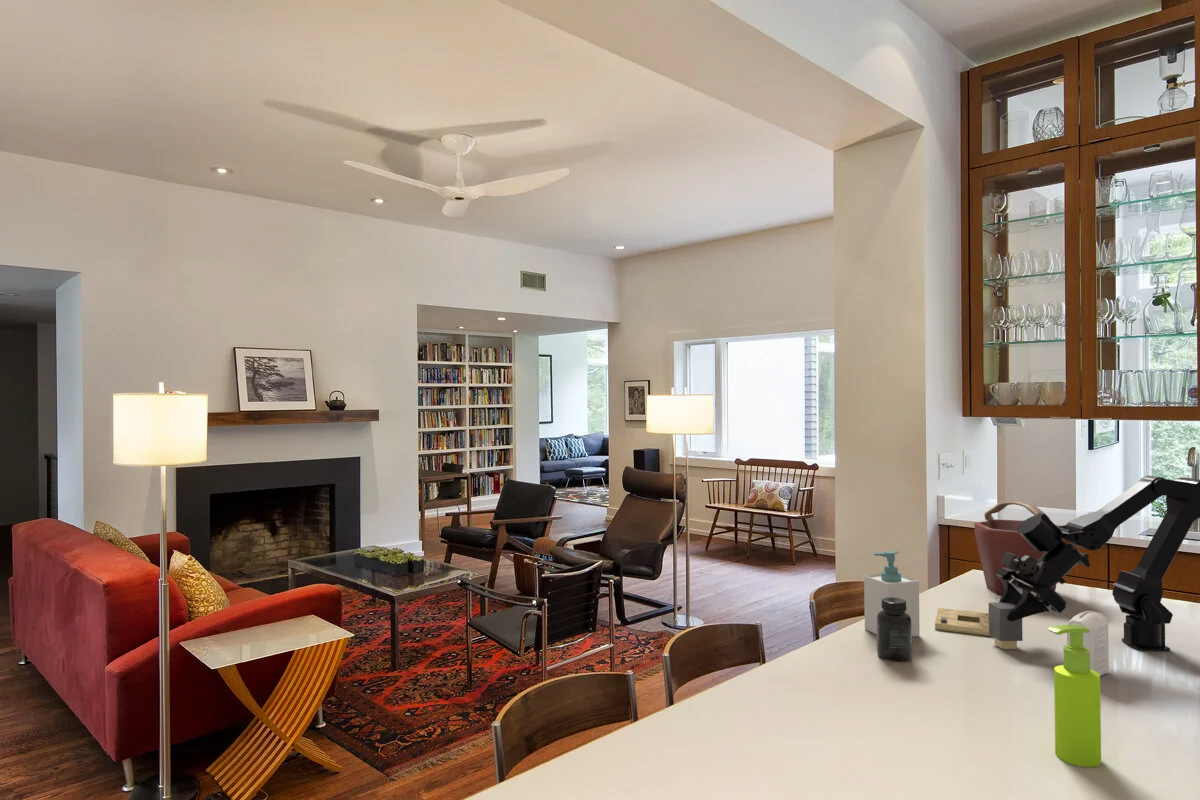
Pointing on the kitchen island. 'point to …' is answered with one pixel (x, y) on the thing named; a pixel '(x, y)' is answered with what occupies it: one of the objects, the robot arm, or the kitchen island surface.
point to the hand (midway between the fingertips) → (1002, 616)
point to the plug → (1004, 626)
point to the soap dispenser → (1077, 702)
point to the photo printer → (1094, 639)
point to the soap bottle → (890, 593)
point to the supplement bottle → (894, 631)
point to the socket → (962, 621)
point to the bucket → (1002, 543)
